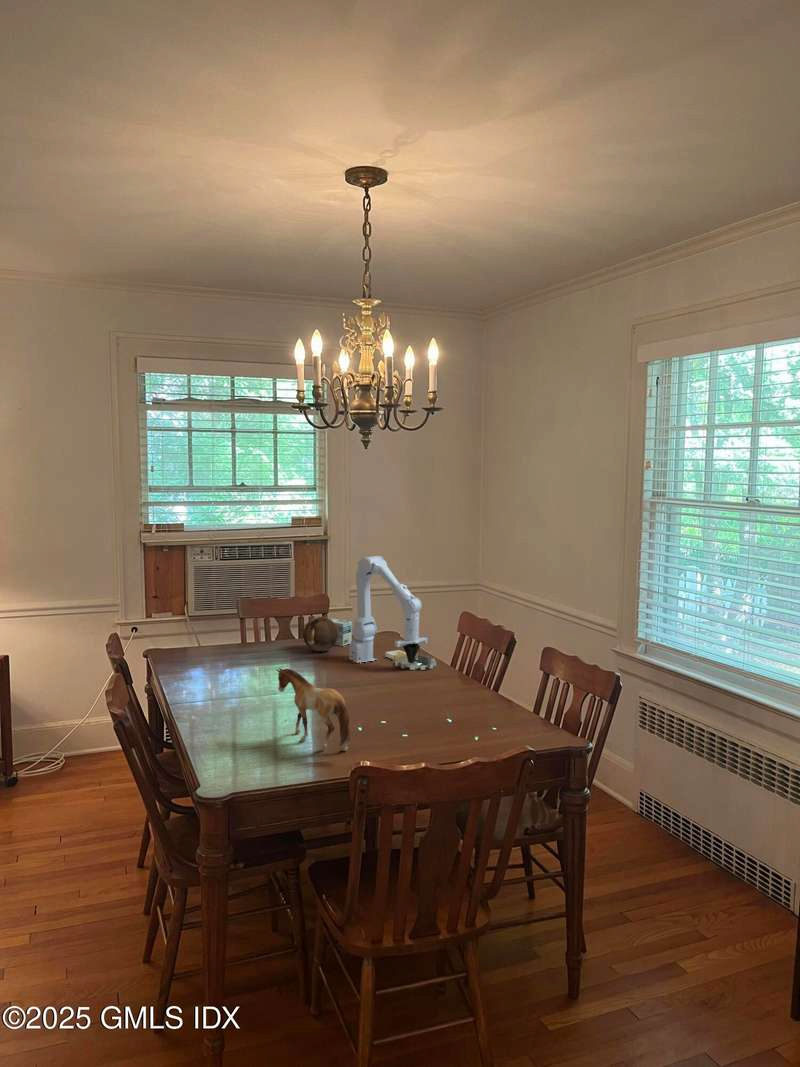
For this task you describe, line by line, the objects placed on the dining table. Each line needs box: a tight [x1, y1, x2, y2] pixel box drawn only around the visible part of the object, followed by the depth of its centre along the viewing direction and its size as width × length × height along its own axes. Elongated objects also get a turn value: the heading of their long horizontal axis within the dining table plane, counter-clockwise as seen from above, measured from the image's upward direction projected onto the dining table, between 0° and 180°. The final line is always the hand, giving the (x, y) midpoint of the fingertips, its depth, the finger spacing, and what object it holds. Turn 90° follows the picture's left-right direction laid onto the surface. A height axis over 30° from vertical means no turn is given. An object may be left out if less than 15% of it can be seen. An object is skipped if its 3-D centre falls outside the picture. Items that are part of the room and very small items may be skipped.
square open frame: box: [385, 649, 406, 661], centre depth 321 cm, size 7×7×2 cm
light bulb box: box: [330, 618, 353, 647], centre depth 343 cm, size 11×7×11 cm, turn 58°
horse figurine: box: [275, 667, 351, 752], centre depth 220 cm, size 31×8×21 cm, turn 47°
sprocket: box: [394, 653, 437, 671], centre depth 309 cm, size 16×18×5 cm
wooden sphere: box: [302, 616, 338, 652], centre depth 329 cm, size 15×15×15 cm
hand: (410, 662), depth 302 cm, fingers closed
